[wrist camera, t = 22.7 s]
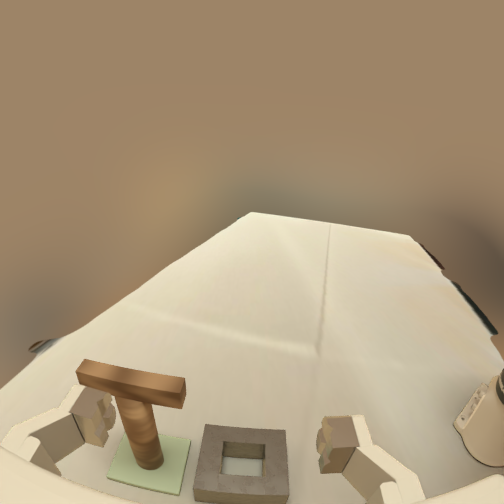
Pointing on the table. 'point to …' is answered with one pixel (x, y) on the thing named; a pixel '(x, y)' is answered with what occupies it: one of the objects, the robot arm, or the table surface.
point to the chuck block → (242, 446)
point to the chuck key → (136, 403)
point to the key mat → (155, 480)
